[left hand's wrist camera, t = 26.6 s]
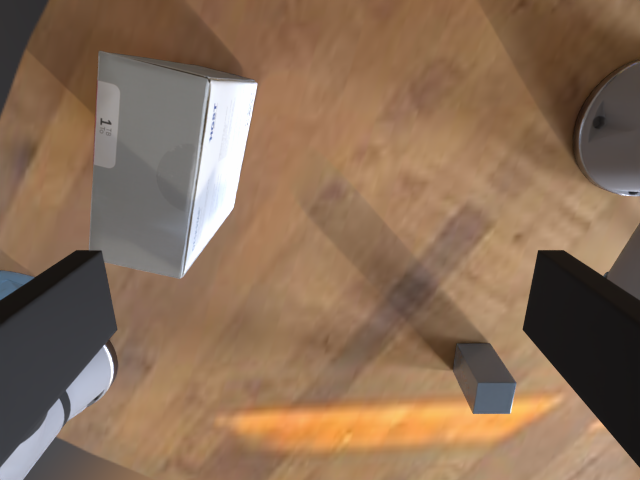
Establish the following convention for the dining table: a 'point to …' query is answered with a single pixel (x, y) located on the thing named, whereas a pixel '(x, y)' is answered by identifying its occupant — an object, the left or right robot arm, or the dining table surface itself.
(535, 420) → the dining table surface
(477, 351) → the block
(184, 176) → the hard drive box
